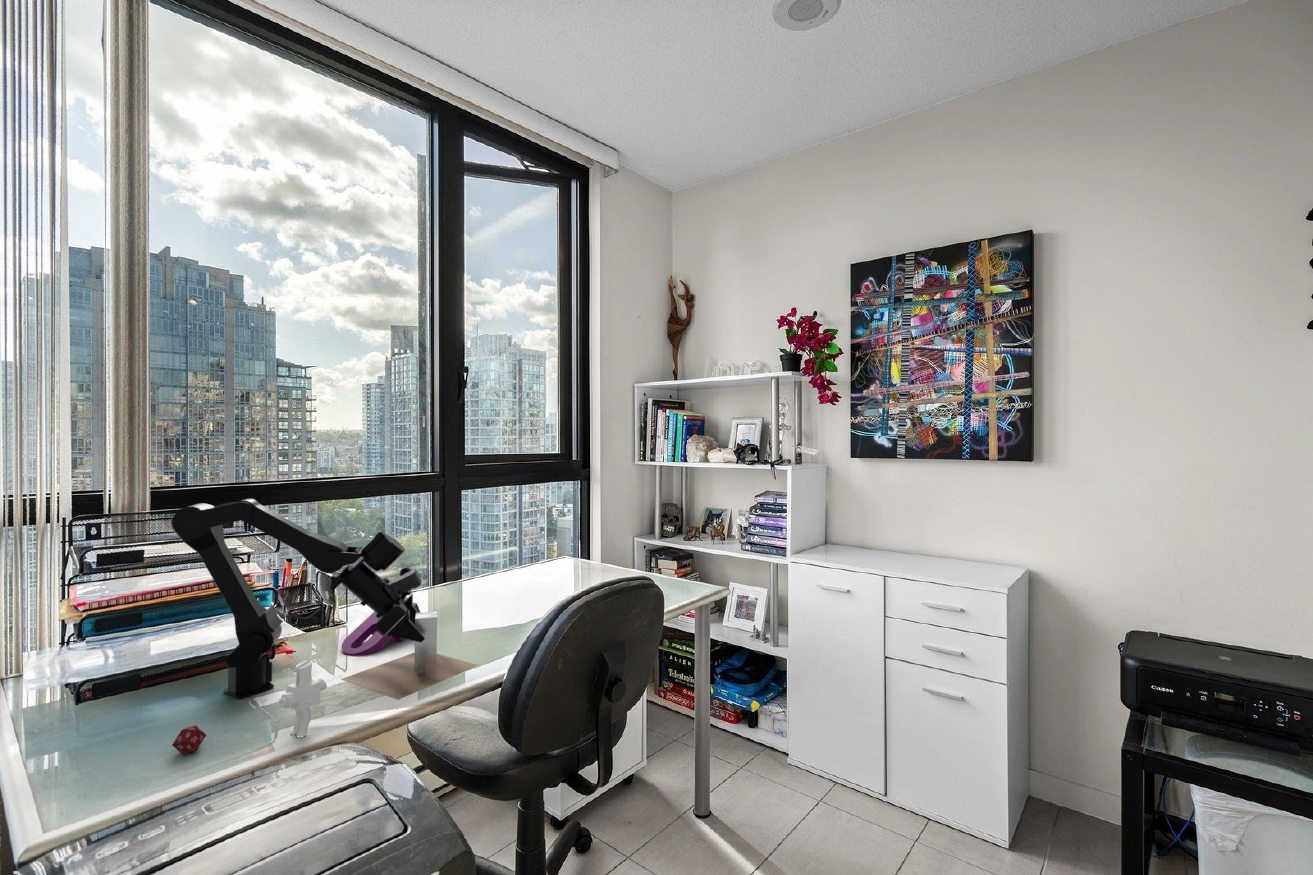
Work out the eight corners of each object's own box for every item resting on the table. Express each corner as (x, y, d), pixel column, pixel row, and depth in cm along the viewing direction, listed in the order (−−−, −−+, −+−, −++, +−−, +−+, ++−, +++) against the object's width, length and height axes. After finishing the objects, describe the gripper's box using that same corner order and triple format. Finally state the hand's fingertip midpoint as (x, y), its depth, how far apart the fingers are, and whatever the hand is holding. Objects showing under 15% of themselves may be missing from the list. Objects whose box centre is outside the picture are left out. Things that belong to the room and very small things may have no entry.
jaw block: (414, 670, 127) (415, 618, 127) (415, 662, 131) (416, 612, 131) (436, 667, 129) (436, 617, 129) (436, 660, 133) (437, 611, 133)
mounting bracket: (375, 684, 137) (427, 629, 152) (363, 656, 134) (417, 603, 149) (345, 677, 140) (398, 624, 156) (332, 650, 137) (388, 598, 152)
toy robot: (331, 725, 105) (332, 657, 105) (288, 745, 98) (289, 672, 98) (316, 720, 107) (317, 653, 107) (273, 739, 100) (274, 668, 100)
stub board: (397, 705, 113) (398, 682, 113) (340, 684, 122) (341, 663, 122) (477, 670, 130) (477, 650, 130) (422, 654, 139) (422, 635, 139)
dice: (209, 751, 96) (209, 726, 96) (174, 762, 93) (174, 736, 93) (203, 743, 99) (204, 718, 99) (169, 753, 95) (169, 728, 95)
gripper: (394, 567, 119) (452, 617, 123) (401, 550, 137) (451, 594, 140) (350, 610, 117) (410, 660, 120) (363, 587, 134) (415, 631, 138)
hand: (424, 633), depth 130 cm, fingers open, 9 cm apart
